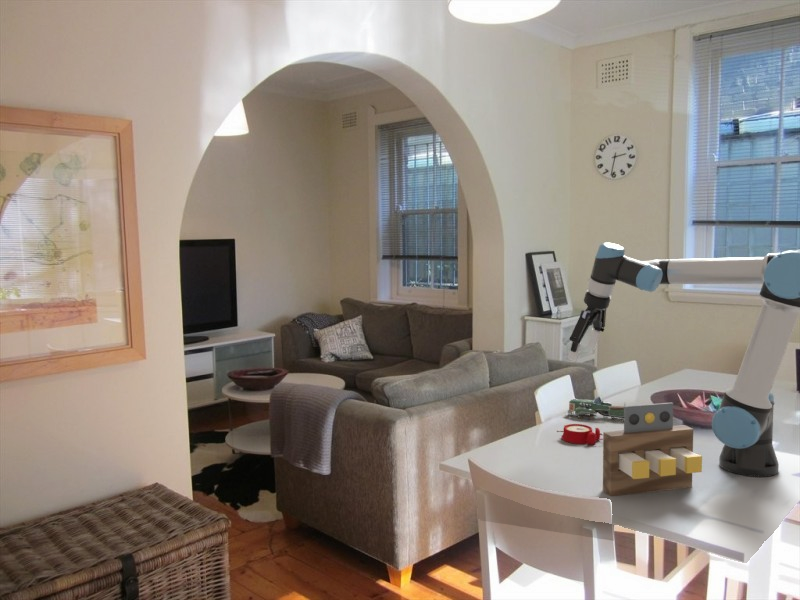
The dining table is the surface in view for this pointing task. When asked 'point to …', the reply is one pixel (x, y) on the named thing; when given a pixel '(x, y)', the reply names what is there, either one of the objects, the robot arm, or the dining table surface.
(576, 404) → the hoverbike
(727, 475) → the dining table surface
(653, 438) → the panel
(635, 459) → the button
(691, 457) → the button
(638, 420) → the card
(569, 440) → the alarm clock
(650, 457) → the button mid
